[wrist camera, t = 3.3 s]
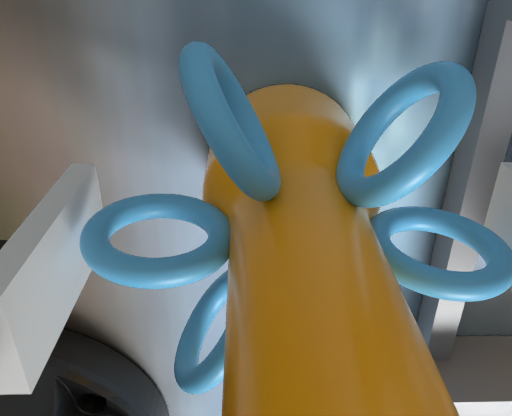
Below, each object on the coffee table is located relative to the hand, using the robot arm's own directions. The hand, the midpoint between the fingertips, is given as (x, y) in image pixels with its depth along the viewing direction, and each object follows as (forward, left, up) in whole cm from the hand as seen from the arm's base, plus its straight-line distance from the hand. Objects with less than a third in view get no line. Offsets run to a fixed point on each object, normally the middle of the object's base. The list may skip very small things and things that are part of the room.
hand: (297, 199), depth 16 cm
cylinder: (0, 0, -4) cm, 4 cm away
